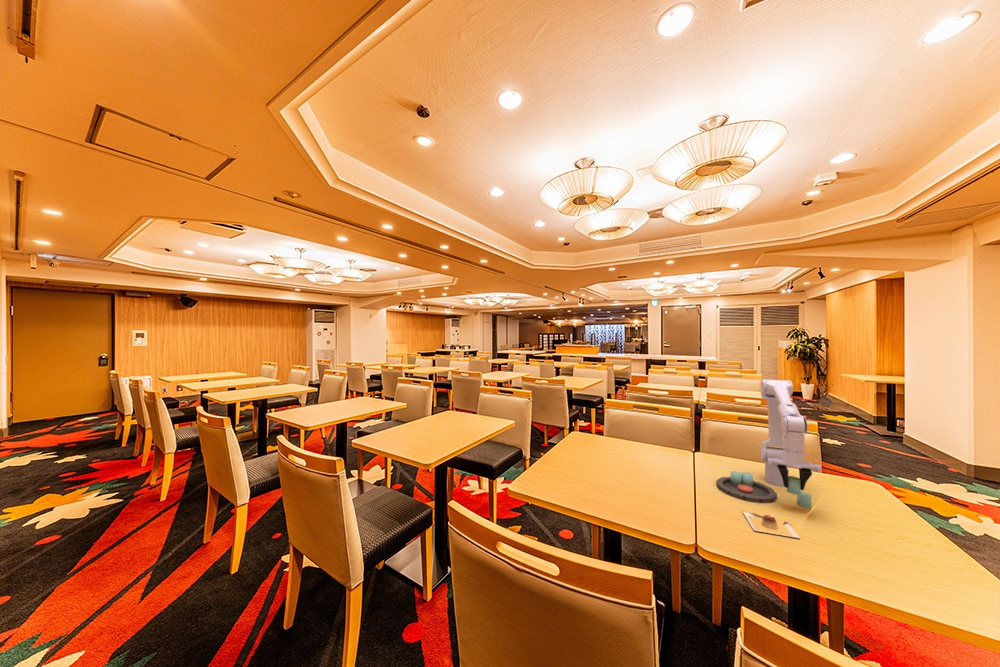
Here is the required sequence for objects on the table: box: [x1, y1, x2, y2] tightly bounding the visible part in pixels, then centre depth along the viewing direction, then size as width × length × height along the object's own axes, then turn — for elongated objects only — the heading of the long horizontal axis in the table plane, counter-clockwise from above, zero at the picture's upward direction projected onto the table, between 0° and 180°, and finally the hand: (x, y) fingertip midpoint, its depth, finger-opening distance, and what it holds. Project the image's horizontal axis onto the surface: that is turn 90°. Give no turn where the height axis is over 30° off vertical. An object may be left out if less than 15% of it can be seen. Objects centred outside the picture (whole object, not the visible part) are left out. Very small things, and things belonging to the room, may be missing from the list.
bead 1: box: [730, 470, 742, 487], centre depth 141 cm, size 4×4×5 cm
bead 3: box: [796, 491, 812, 512], centre depth 125 cm, size 4×4×5 cm
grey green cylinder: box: [786, 475, 802, 496], centre depth 122 cm, size 4×4×5 cm
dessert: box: [742, 511, 801, 539], centre depth 113 cm, size 12×12×5 cm
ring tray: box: [715, 476, 778, 504], centre depth 136 cm, size 19×19×2 cm
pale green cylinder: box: [741, 472, 754, 488], centre depth 140 cm, size 4×4×5 cm
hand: (793, 487), depth 123 cm, fingers closed on grey green cylinder, 4 cm apart
